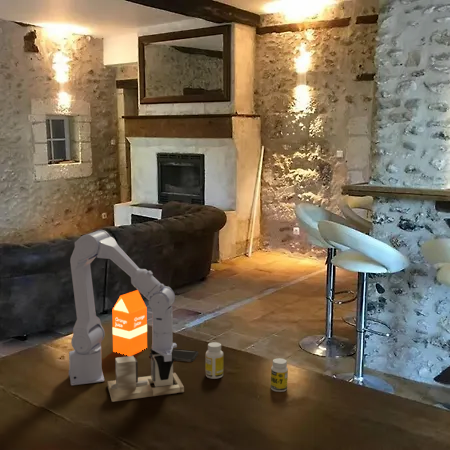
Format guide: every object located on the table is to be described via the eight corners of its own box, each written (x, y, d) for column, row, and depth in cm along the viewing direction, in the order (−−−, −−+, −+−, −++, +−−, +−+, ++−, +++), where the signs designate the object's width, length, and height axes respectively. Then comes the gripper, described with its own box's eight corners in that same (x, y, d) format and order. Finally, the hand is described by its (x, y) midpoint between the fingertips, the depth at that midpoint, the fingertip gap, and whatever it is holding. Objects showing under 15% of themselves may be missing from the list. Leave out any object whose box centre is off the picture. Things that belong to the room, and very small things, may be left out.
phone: (156, 346, 185) (198, 351, 182) (156, 350, 185) (198, 354, 182) (148, 355, 177) (192, 359, 174) (148, 358, 178) (192, 363, 174)
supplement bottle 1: (224, 372, 167) (224, 341, 165) (222, 379, 162) (222, 348, 160) (206, 371, 167) (206, 340, 166) (204, 378, 162) (204, 347, 161)
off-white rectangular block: (153, 387, 153) (153, 360, 152) (150, 381, 157) (150, 354, 156) (172, 384, 155) (172, 357, 154) (169, 378, 159) (169, 352, 158)
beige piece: (112, 401, 147) (111, 368, 146) (107, 386, 156) (106, 354, 155) (183, 391, 153) (183, 359, 152) (175, 377, 163) (175, 347, 161)
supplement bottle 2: (267, 390, 155) (268, 361, 154) (274, 383, 159) (275, 356, 158) (283, 393, 153) (284, 365, 152) (289, 387, 157) (290, 359, 156)
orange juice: (147, 348, 186) (147, 291, 183) (130, 356, 178) (129, 297, 175) (130, 343, 190) (129, 287, 187) (112, 351, 182) (111, 293, 179)
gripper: (182, 337, 148) (182, 384, 150) (170, 321, 162) (170, 364, 164) (156, 340, 146) (157, 388, 148) (146, 323, 160) (147, 367, 162)
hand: (162, 376), depth 156 cm, fingers closed on off-white rectangular block, 4 cm apart
